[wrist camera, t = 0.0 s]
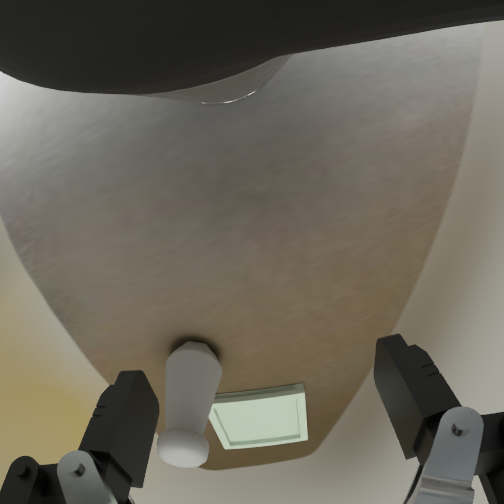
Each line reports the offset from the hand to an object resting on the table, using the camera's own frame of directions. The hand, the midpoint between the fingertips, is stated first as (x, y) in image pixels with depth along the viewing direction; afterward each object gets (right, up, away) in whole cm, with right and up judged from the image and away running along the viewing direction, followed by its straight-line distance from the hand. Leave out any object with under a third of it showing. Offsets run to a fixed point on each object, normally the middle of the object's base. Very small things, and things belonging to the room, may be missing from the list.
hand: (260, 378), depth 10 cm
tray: (+1, -18, +28) cm, 33 cm away
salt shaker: (-6, -7, +22) cm, 24 cm away
